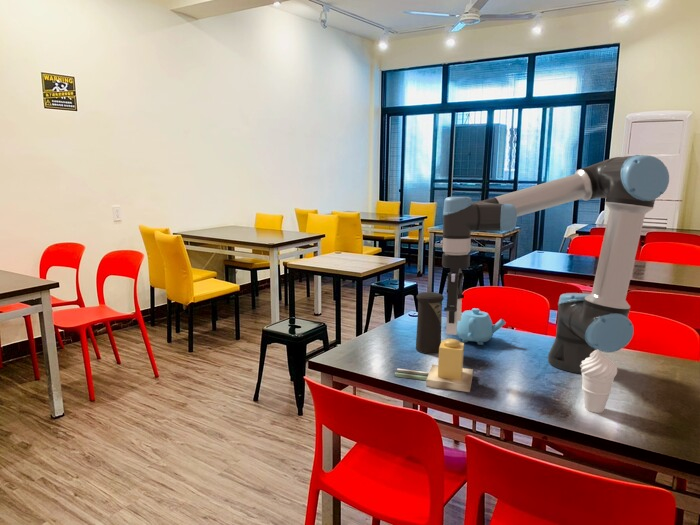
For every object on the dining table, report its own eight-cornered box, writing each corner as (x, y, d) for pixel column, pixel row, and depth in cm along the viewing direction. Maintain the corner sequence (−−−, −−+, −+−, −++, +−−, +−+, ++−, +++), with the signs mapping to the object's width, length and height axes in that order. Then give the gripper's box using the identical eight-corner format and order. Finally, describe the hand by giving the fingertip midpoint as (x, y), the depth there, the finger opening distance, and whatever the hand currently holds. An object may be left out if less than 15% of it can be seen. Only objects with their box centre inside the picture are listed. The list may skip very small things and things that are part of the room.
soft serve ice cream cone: (601, 401, 128) (607, 344, 125) (619, 417, 120) (626, 355, 117) (570, 402, 128) (575, 344, 125) (586, 417, 119) (592, 355, 117)
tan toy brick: (462, 371, 142) (464, 339, 140) (460, 380, 136) (462, 346, 134) (440, 368, 144) (442, 336, 142) (437, 377, 138) (439, 343, 136)
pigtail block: (472, 375, 144) (474, 350, 143) (469, 392, 133) (471, 364, 132) (399, 366, 151) (400, 341, 149) (391, 381, 139) (392, 355, 138)
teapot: (442, 342, 173) (444, 311, 171) (454, 330, 188) (455, 300, 186) (500, 352, 165) (502, 318, 163) (507, 338, 180) (509, 307, 178)
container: (441, 355, 161) (443, 296, 157) (413, 353, 163) (415, 295, 159) (441, 346, 169) (444, 291, 166) (415, 344, 171) (417, 289, 168)
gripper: (447, 246, 147) (445, 314, 150) (436, 259, 123) (434, 339, 127) (472, 247, 145) (470, 316, 148) (466, 260, 121) (463, 341, 125)
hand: (454, 326), depth 138 cm, fingers open, 13 cm apart
